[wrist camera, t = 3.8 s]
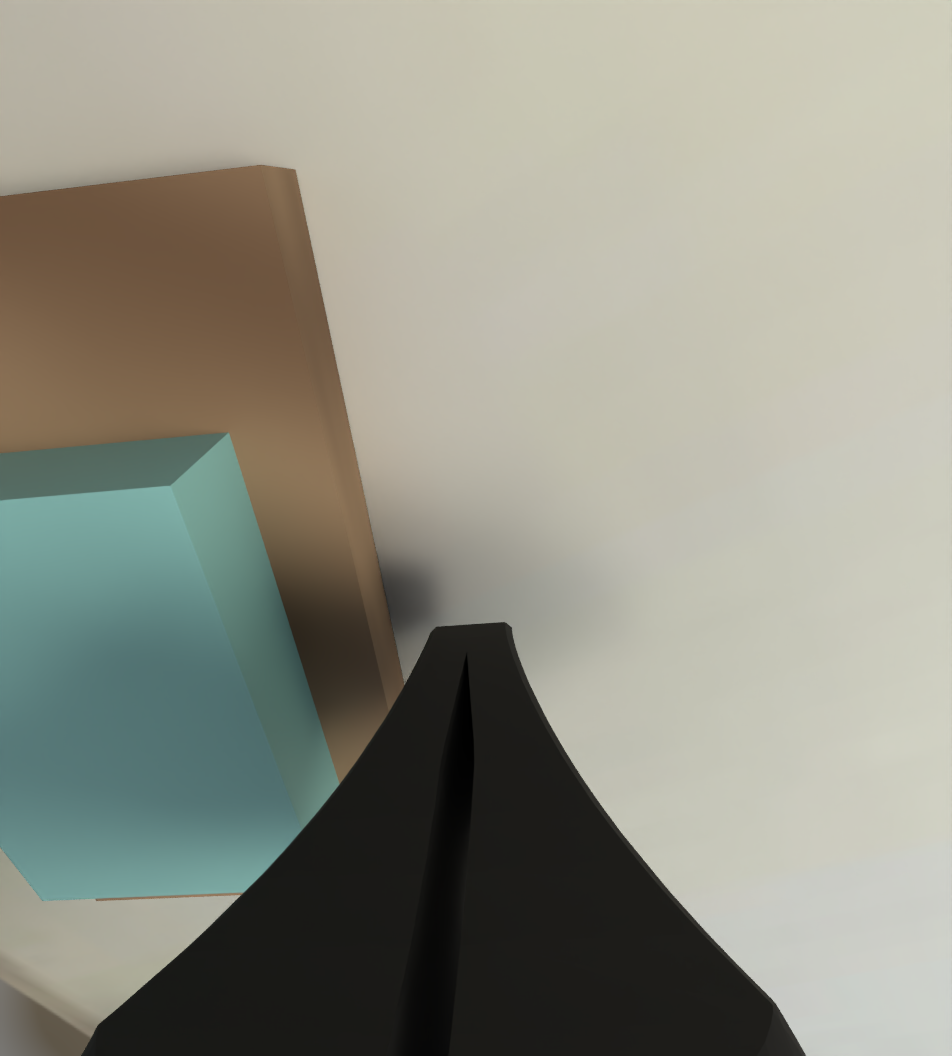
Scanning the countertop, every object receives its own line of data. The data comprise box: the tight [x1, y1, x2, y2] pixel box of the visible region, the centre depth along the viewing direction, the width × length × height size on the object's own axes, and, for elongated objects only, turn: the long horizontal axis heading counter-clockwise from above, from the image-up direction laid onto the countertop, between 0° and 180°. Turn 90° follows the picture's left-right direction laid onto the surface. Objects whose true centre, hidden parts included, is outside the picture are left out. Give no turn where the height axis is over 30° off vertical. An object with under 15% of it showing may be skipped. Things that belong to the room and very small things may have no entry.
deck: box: [0, 165, 404, 901], centre depth 13 cm, size 16×9×2 cm, turn 6°
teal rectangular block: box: [0, 432, 339, 901], centre depth 11 cm, size 9×6×2 cm, turn 6°
